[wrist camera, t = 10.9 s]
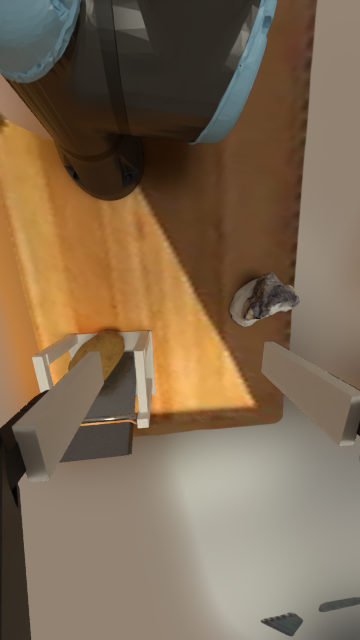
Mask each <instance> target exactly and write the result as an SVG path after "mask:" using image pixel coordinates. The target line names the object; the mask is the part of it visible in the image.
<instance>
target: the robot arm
mask: <svg viewBox="0 0 360 640" xmlns="http://www.w3.org/2000/svg"><path fill="white" fill-rule="evenodd" d="M276 3H277V0H0V73H1V74H2V76H3V77H4V78H5V79H6V81H7V82H8V83H9V84H10V86H11V87H12V88H13V89H14V91H15V92H16V93H17V94H18V95H19V97H20V98H21V99H22V100H23V102H24V103H25V104H26V105H27V107H28V108H29V109H30V110H31V112H32V113H33V114H34V115H35V117H36V118H37V119H38V120H39V121H40V123H41V124H42V125H43V127H44V128H45V129H46V130H47V132H48V133H49V134H50V135H51V136H52V138H53V139H54V142H55V144H56V147H57V150H58V153H59V155H60V158H61V161H62V163H63V165H64V167H65V168H66V170H67V172H68V173H69V175H70V176H71V177H72V178H73V179H74V181H75V182H76V183H77V184H78V185H79V186H80V187H81V188H82V189H83V190H84V191H86V192H87V193H88V194H90V195H92V196H94V197H96V198H99V199H103V200H117V199H121V198H123V197H125V196H127V195H128V194H130V193H131V192H132V191H133V190H134V189H135V188H136V186H137V185H138V183H139V181H140V179H141V176H142V173H143V168H144V154H143V148H142V142H141V138H140V137H147V138H155V139H164V140H173V141H181V142H188V144H191V145H194V144H196V143H217V142H219V141H221V140H222V139H223V138H224V137H225V136H227V135H228V133H229V132H230V131H231V129H232V128H233V126H234V125H235V123H236V121H237V119H238V118H239V116H240V114H241V112H242V110H243V107H244V105H245V103H246V101H247V98H248V96H249V93H250V91H251V88H252V86H253V83H254V80H255V78H256V75H257V72H258V69H259V66H260V63H261V60H262V57H263V54H264V51H265V47H266V43H267V38H266V35H267V32H268V30H269V27H270V25H271V22H272V20H273V17H274V12H275V7H276ZM261 372H262V373H263V374H264V375H265V376H266V377H267V378H268V379H269V380H270V381H271V382H272V383H273V384H274V385H275V386H276V387H277V388H278V389H280V390H281V391H282V392H283V393H284V394H285V395H286V396H287V397H288V398H289V399H290V400H291V401H292V402H293V403H294V404H295V405H296V406H298V407H299V408H300V409H301V410H302V411H303V412H304V413H305V414H306V415H307V416H308V417H309V418H310V419H311V420H312V421H313V422H314V423H315V424H316V425H318V426H319V427H320V428H321V429H322V430H323V431H324V432H325V433H326V434H327V435H328V436H329V437H330V438H331V439H332V440H333V441H334V442H335V443H337V444H338V445H339V446H345V445H354V442H355V438H356V435H357V434H358V435H359V436H360V390H359V389H357V388H355V387H354V386H352V385H350V384H348V383H346V382H345V381H343V380H340V379H339V378H338V377H336V376H334V375H332V374H330V373H327V372H326V371H324V370H322V369H320V368H319V367H317V366H315V365H313V364H312V363H310V362H308V361H306V360H305V359H303V358H301V357H299V356H297V355H296V354H294V353H292V352H290V351H289V350H287V349H285V348H283V347H282V346H280V345H278V344H276V343H275V342H265V344H264V353H263V362H262V371H261ZM103 384H104V379H103V372H102V365H101V357H100V351H94V352H88V353H87V354H86V355H85V356H84V357H83V358H82V359H81V360H80V361H79V362H78V363H77V364H76V365H75V366H74V367H73V368H72V369H71V370H70V371H69V372H68V373H67V374H66V375H65V376H64V377H63V378H62V379H61V380H60V381H58V382H57V383H56V384H55V385H54V386H53V387H52V388H51V389H50V390H45V391H43V392H42V393H40V394H38V395H37V396H35V397H34V398H33V399H32V400H31V401H30V402H29V403H28V404H27V405H25V406H24V407H23V408H22V409H21V410H20V412H18V413H17V414H16V415H14V416H13V417H12V418H11V419H10V420H9V421H8V422H7V423H6V424H5V425H3V426H2V427H1V428H0V640H31V632H30V618H29V606H28V594H27V580H26V567H25V554H24V543H23V528H22V515H21V503H20V490H19V486H18V481H19V480H20V479H21V477H22V476H23V474H24V473H25V472H26V474H27V478H28V481H29V482H38V481H47V480H49V479H50V477H51V475H52V474H53V472H54V471H55V469H56V467H57V465H58V464H59V462H60V460H61V458H62V457H63V455H64V453H65V451H66V449H67V448H68V446H69V444H70V442H71V441H72V439H73V437H74V435H75V434H76V432H77V430H78V428H79V427H80V425H81V423H82V421H83V420H84V418H85V416H86V414H87V413H88V411H89V409H90V407H91V406H92V404H93V402H94V400H95V399H96V397H97V395H98V393H99V392H100V390H101V388H102V386H103Z"/></svg>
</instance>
